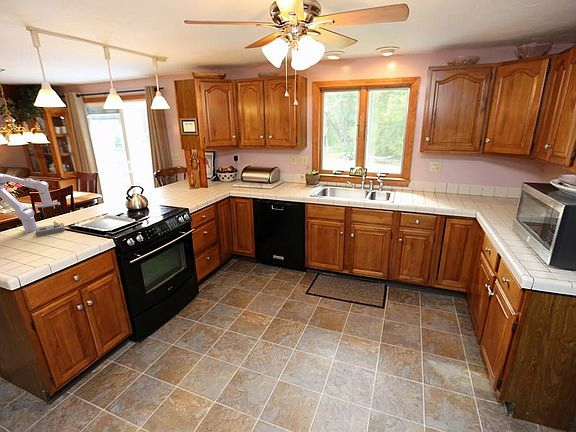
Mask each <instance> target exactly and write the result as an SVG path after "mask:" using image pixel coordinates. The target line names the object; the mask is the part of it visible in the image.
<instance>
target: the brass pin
mask: <svg viewBox="0 0 576 432" xmlns="http://www.w3.org/2000/svg"><path fill="white" fill-rule="evenodd" d="M52 224H53V225H54V226H55V227H59V225H58V224H59V222H58V221H53V223H52Z"/></svg>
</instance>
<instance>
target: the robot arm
mask: <svg viewBox="0 0 576 432" xmlns="http://www.w3.org/2000/svg"><path fill="white" fill-rule="evenodd" d="M7 182H9V183H10V182H11V183H14V184H15V183H16V184H20V185H23V186H24V187H25V188H26V187H27V188H31V189H35V190H37V191H38V194H39V197H40V200H41V203H42V204H41V203H40V204H37V205H35V206H34V207H35V209H37V211H39V212H40V214H41V215H42V216H43V218H46V215H45V212H44V208H47V207H54V210H55V213H56V216H59V206H61V202H60V201H57V202H53V201H52V197H51V194H50V191H49V186H50V185H49V183H48V182H47V181H44V180H43V181H40V180H35V179H32V178H31V177H30V178H25V179H23V178H21V177H16V176H13V175H9V174H6V173H5V174H4V173H0V199H2V200H3V201H4V202H5V203H6V204H7V205H9V207H11V208H12V209H13V210H14V212H15V215H16V216H17V218H18V219H19V220H20V221H21V223H22V226H23V229H24V230H23V233H24V234H26V233H30V232H31V233H32V232H36V228H38V227H39V226H37V223H36V222H37V221H36V220H35V217H34V216H35V211H34V209H32V208H29V206H26V205H23V204H22V203H21V202H20V201H19V200H17V198H16V197H14V196H13V195H12V194H11V193H10V192H9V191H8V190H6V189H5V184H6V183H7Z"/></svg>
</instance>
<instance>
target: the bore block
mask: <svg viewBox="0 0 576 432" xmlns="http://www.w3.org/2000/svg"><path fill="white" fill-rule="evenodd" d="M58 225H59V227H55V226H54V224H49V225H45V226H44V225H43V226H37V227H38V228H36V231H34V233H35V236H36V237H41V236H42V237H43V236H46V235H51V234H56V233H61V232H65V223H64V222H61V223H58Z"/></svg>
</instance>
